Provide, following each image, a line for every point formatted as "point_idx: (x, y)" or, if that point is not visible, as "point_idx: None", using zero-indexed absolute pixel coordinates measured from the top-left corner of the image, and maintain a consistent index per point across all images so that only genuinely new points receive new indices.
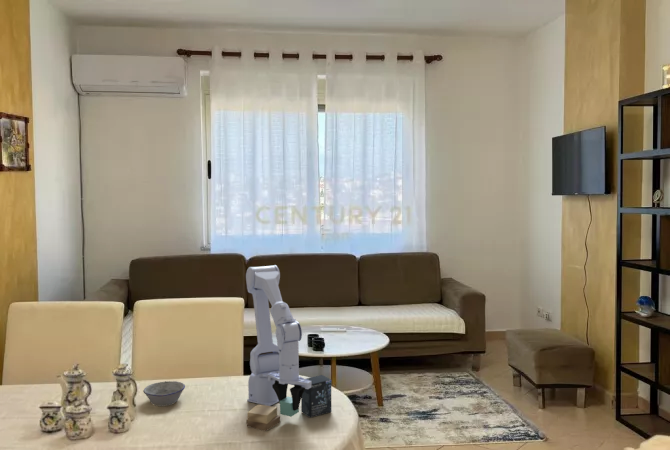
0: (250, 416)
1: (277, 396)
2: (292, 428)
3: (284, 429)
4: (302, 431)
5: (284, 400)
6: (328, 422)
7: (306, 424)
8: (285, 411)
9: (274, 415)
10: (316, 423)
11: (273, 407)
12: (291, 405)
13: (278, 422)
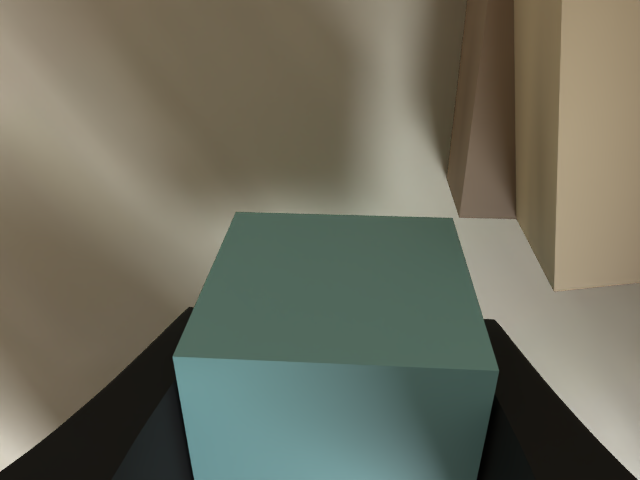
0: None
1: (621, 468)
2: (197, 103)
3: (266, 21)
4: (35, 91)
5: (408, 421)
6: (7, 382)
7: (140, 265)
8: (339, 246)
9: (522, 147)
10: (76, 324)
11: (613, 252)
12: (192, 338)
13: (452, 146)
